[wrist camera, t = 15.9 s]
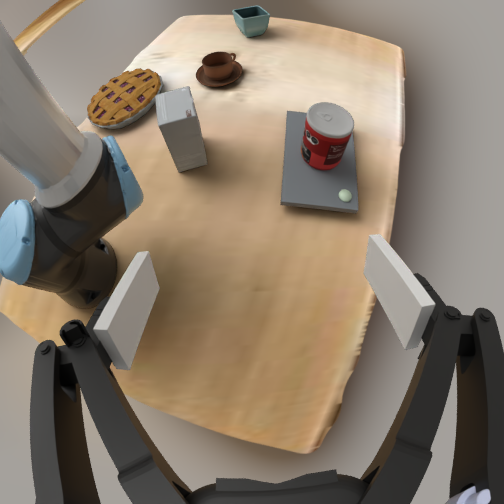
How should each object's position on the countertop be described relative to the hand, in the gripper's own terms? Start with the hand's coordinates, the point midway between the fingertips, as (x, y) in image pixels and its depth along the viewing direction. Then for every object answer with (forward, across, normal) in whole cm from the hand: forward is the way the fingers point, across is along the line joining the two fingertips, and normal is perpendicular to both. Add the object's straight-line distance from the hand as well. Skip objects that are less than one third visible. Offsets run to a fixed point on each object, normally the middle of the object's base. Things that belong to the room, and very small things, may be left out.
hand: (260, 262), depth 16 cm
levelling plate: (+41, +13, -3) cm, 44 cm away
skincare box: (+45, -12, 0) cm, 46 cm away
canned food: (+39, +13, -2) cm, 41 cm away
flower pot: (+79, +3, +34) cm, 87 cm away
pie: (+60, -32, +15) cm, 70 cm away
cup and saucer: (+63, -6, +18) cm, 66 cm away
